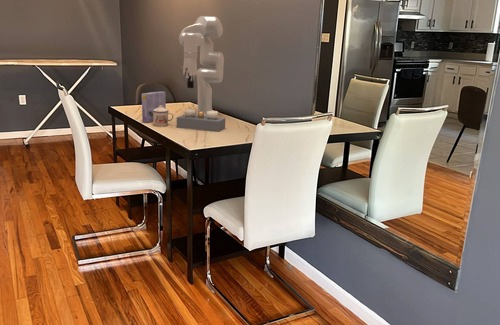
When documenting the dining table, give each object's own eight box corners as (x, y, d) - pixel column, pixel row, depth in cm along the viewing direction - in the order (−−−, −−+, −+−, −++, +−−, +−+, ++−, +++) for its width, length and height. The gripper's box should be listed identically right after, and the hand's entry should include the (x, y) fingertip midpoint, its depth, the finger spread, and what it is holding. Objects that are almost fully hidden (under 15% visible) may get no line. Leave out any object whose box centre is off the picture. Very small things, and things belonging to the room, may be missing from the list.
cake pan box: (161, 117, 297) (160, 90, 292) (167, 118, 295) (167, 91, 290) (141, 122, 280) (140, 93, 275) (147, 123, 278) (147, 94, 273)
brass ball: (199, 117, 272) (199, 111, 271) (205, 117, 271) (205, 111, 270) (197, 117, 269) (197, 112, 268) (202, 118, 268) (202, 112, 267)
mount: (185, 123, 281) (185, 114, 279) (225, 128, 274) (225, 118, 272) (176, 127, 270) (176, 117, 268) (218, 131, 263) (218, 121, 261)
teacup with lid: (153, 126, 269) (153, 106, 266) (152, 123, 278) (152, 104, 275) (174, 126, 273) (174, 106, 269) (172, 123, 281) (172, 104, 278)
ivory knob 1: (187, 123, 277) (187, 108, 275) (197, 124, 276) (197, 109, 273) (182, 124, 271) (182, 109, 269) (192, 125, 270) (193, 110, 267)
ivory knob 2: (209, 125, 273) (209, 110, 271) (219, 126, 272) (219, 111, 269) (204, 127, 268) (205, 111, 265) (215, 128, 266) (215, 112, 263)
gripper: (189, 54, 271) (189, 86, 276) (179, 55, 257) (179, 88, 262) (201, 55, 269) (201, 87, 274) (191, 56, 255) (191, 89, 260)
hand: (190, 87), depth 268 cm, fingers closed
